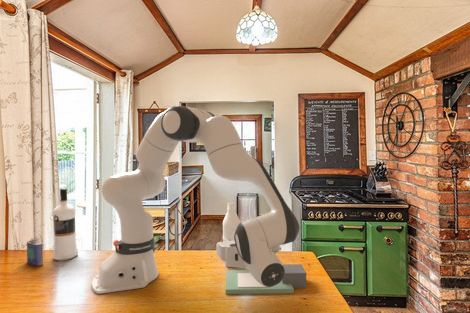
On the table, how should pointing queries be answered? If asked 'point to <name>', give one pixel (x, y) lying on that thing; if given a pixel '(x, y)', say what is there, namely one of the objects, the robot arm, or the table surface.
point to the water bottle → (230, 223)
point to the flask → (34, 253)
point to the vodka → (64, 229)
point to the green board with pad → (249, 285)
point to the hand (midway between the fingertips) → (240, 239)
